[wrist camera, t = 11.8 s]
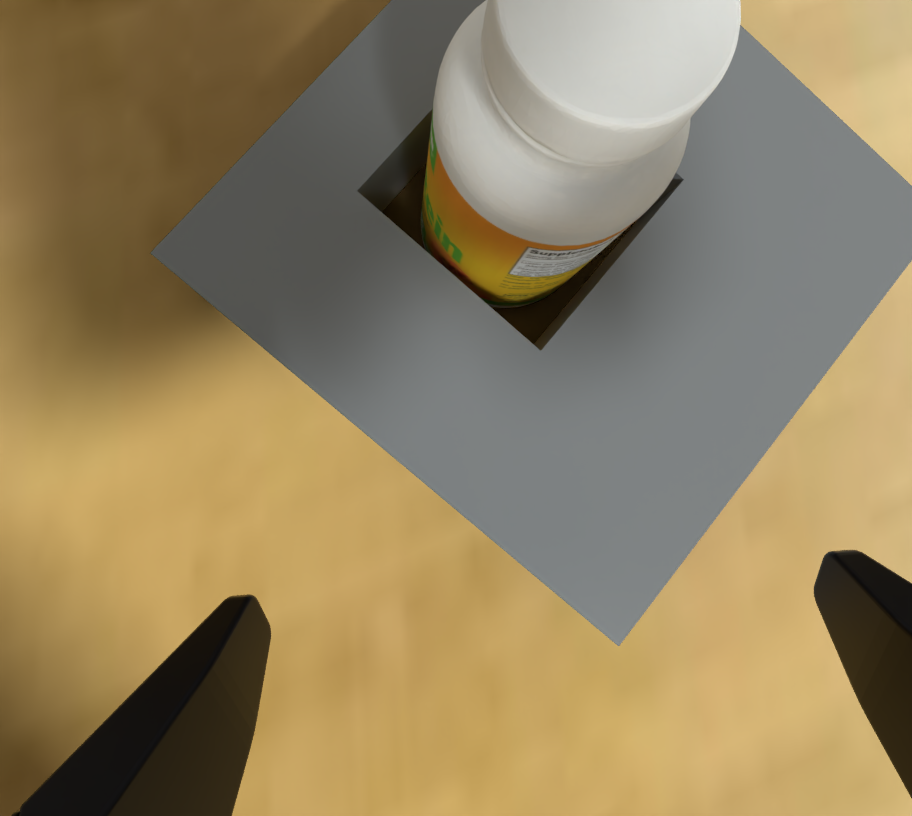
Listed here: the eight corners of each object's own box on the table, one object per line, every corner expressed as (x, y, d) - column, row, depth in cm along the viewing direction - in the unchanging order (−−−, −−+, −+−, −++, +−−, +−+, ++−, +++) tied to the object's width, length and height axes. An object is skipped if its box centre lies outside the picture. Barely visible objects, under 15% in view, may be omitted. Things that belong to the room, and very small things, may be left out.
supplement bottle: (401, 166, 18) (407, -151, 8) (559, 137, 18) (738, -191, 9) (441, 327, 18) (495, 202, 8) (597, 292, 18) (822, 136, 9)
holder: (581, 610, 18) (619, 646, 15) (193, 284, 17) (150, 252, 14) (860, 249, 19) (944, 216, 16) (520, -65, 18) (544, -160, 15)
